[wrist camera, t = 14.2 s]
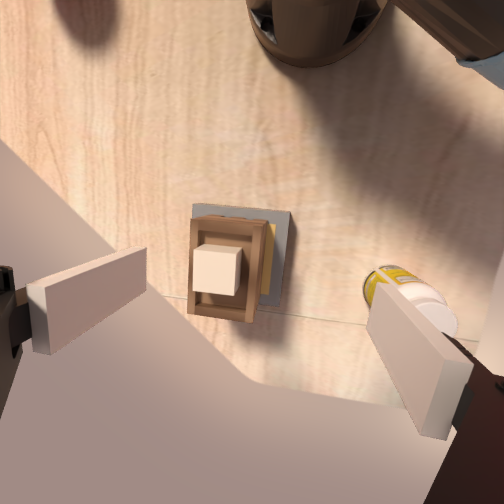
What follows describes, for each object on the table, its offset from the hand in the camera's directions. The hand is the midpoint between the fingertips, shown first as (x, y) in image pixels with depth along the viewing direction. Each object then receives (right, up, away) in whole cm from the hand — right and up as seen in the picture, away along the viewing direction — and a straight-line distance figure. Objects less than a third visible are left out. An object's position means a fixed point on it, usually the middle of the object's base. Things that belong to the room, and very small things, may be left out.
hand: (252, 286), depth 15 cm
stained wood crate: (-2, +1, +18) cm, 18 cm away
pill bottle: (+17, -2, +20) cm, 26 cm away
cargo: (-3, +1, +12) cm, 13 cm away
